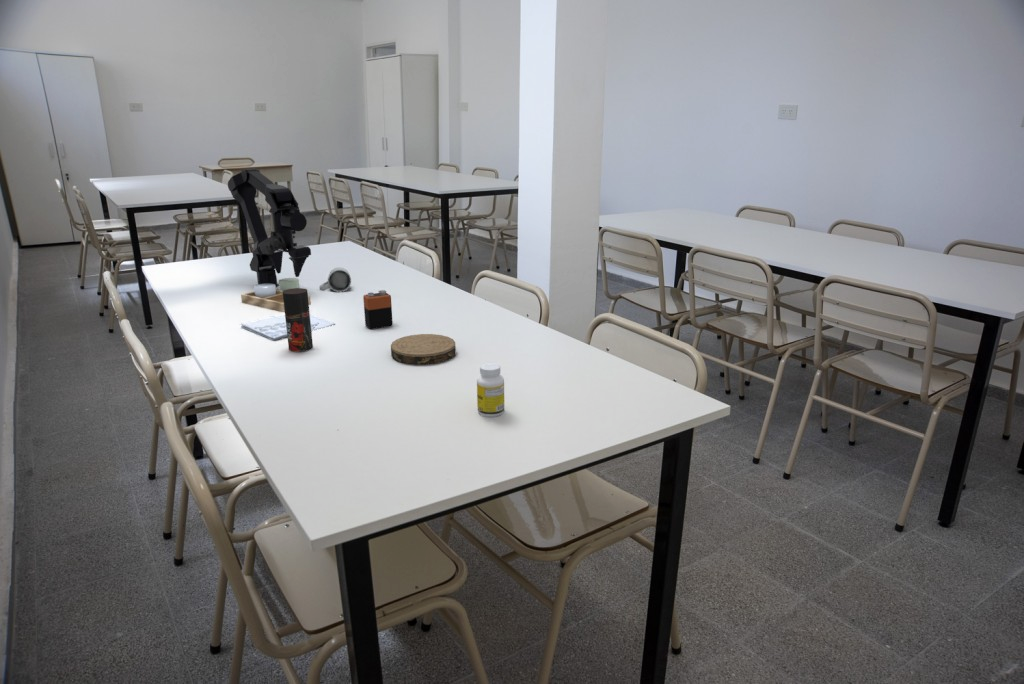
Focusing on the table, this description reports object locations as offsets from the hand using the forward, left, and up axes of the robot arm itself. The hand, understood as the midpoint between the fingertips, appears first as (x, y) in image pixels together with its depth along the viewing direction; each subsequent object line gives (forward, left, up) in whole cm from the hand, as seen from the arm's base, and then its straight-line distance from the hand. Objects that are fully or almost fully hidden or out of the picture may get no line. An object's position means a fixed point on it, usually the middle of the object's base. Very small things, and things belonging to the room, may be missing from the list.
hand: (287, 275), depth 220 cm
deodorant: (+47, -35, -7) cm, 59 cm away
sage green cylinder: (0, 0, -7) cm, 7 cm away
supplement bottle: (+110, -40, -7) cm, 117 cm away
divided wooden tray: (+7, -11, -7) cm, 15 cm away
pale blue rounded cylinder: (+2, -11, -6) cm, 13 cm away
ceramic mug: (+8, +13, -7) cm, 17 cm away
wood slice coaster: (+76, -21, -7) cm, 79 cm away
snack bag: (+29, -24, -7) cm, 38 cm away
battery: (+50, -10, -7) cm, 52 cm away
